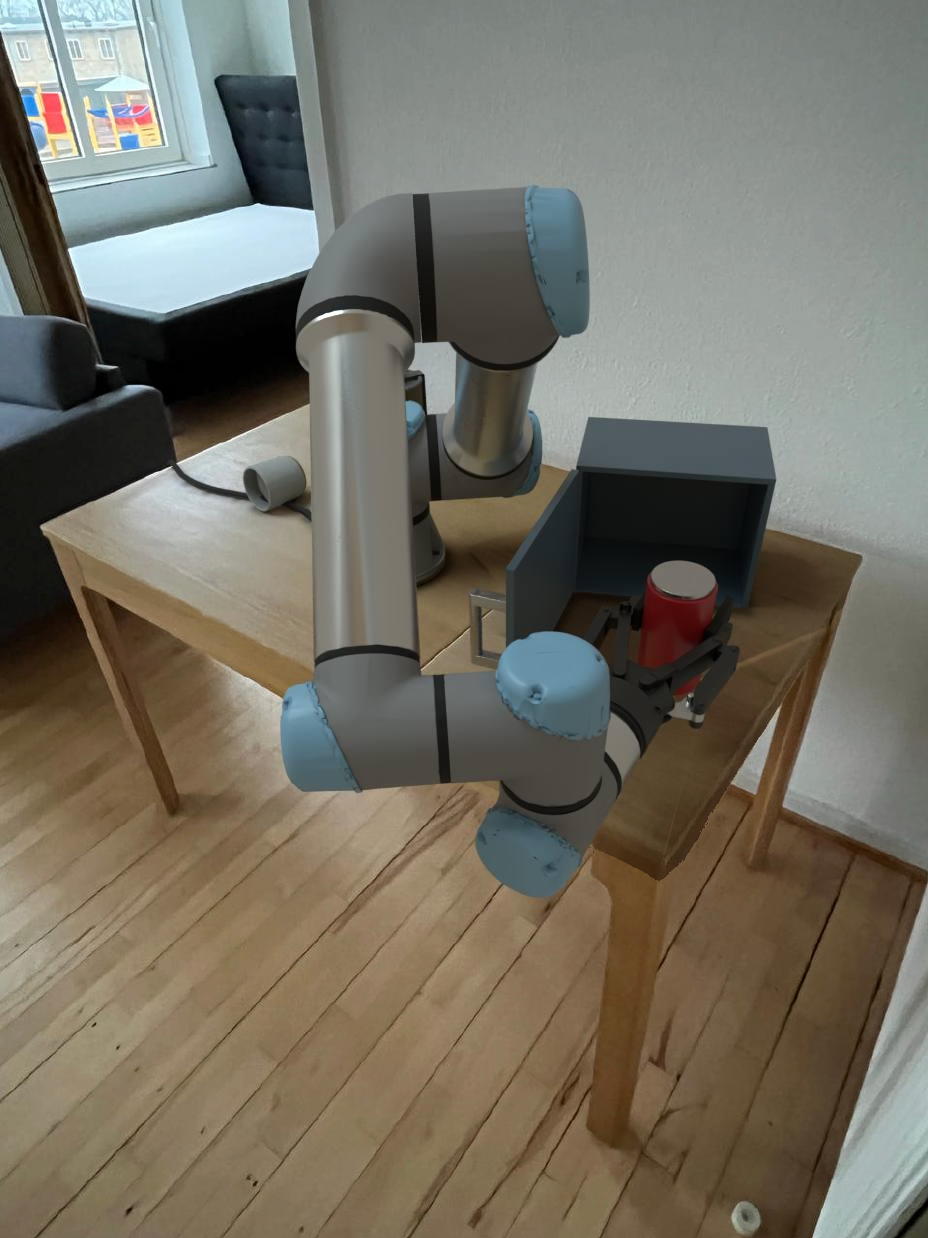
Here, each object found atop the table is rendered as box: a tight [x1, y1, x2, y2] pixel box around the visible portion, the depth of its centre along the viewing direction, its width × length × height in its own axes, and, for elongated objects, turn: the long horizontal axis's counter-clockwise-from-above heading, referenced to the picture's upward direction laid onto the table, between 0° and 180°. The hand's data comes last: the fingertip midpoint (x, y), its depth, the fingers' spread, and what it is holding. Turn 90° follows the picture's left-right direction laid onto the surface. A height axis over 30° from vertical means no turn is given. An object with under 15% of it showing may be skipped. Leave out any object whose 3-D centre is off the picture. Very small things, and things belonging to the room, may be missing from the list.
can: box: [636, 561, 718, 696], centre depth 81 cm, size 7×7×12 cm
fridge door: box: [468, 468, 579, 671], centre depth 98 cm, size 6×24×19 cm, turn 157°
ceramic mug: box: [242, 455, 307, 512], centre depth 135 cm, size 11×8×8 cm
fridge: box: [572, 416, 777, 609], centre depth 110 cm, size 15×24×20 cm, turn 77°
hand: (692, 597), depth 84 cm, fingers closed on can, 7 cm apart
